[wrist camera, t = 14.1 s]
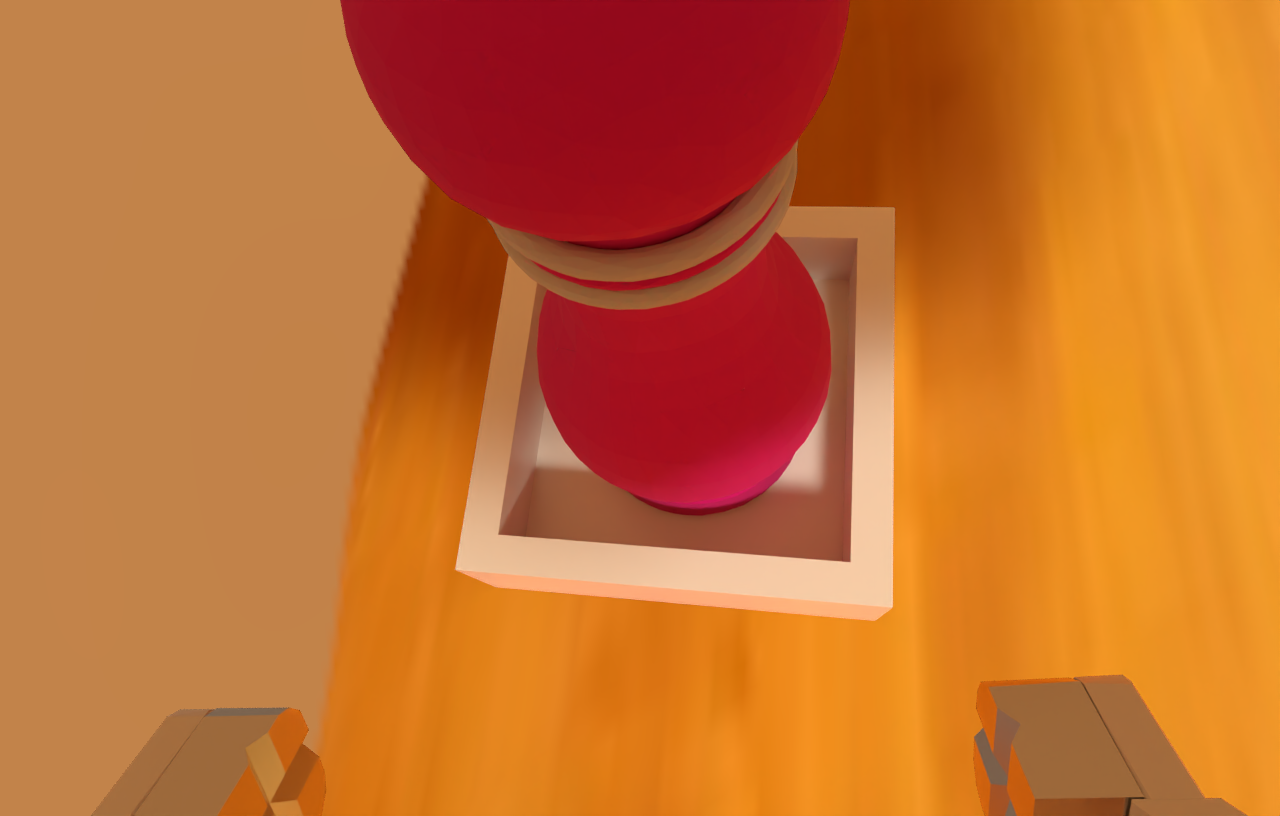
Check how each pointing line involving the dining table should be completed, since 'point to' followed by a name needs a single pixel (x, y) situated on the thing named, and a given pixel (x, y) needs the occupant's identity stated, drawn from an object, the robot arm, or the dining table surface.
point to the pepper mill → (634, 211)
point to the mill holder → (721, 542)
